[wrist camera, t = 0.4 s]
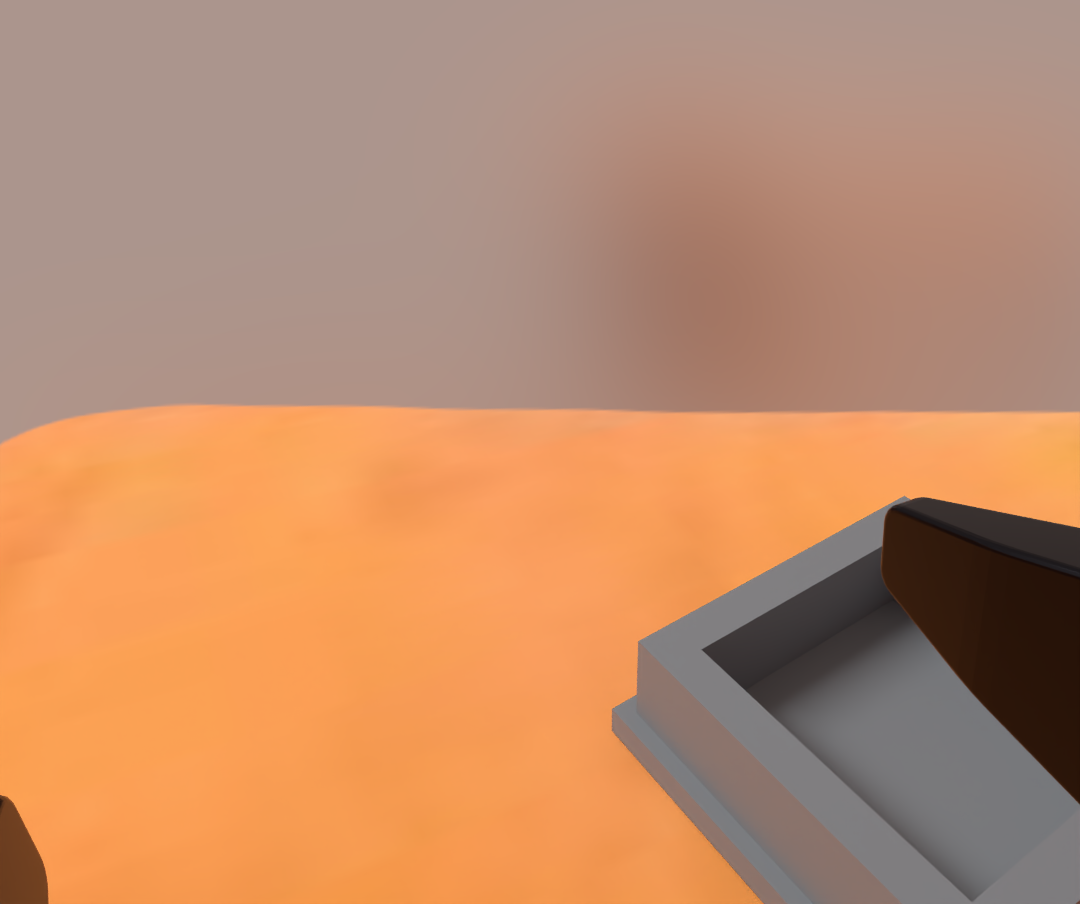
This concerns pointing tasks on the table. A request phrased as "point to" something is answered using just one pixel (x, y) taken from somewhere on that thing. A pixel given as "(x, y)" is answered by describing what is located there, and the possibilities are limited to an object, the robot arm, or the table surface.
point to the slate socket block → (843, 746)
